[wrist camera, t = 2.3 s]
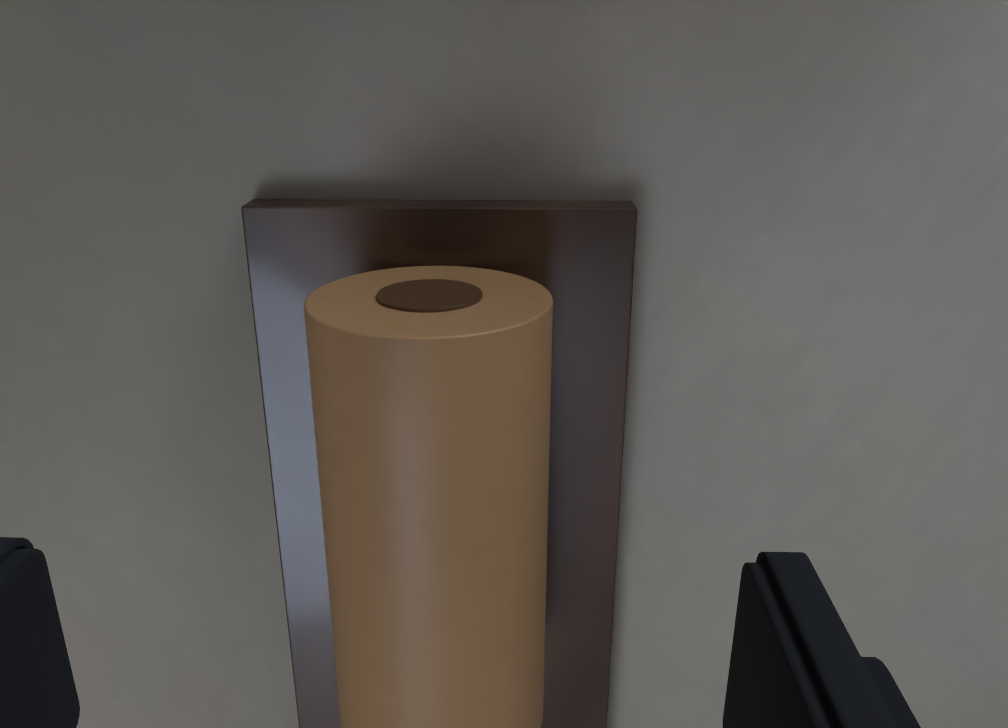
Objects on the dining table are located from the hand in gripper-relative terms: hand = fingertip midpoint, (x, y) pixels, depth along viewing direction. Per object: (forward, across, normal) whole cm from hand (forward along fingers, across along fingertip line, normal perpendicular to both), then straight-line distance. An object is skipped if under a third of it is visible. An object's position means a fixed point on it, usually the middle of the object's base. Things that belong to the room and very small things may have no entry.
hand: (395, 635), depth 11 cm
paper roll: (+12, +1, +4) cm, 13 cm away
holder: (+13, 0, +6) cm, 14 cm away
